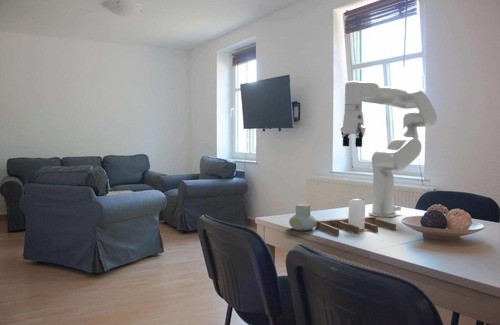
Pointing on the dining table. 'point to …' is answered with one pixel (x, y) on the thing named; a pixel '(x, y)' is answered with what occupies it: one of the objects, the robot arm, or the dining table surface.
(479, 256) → the dining table surface
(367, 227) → the notch rack
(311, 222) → the air freshener
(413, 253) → the dining table surface
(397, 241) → the dining table surface
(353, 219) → the can
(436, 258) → the dining table surface
